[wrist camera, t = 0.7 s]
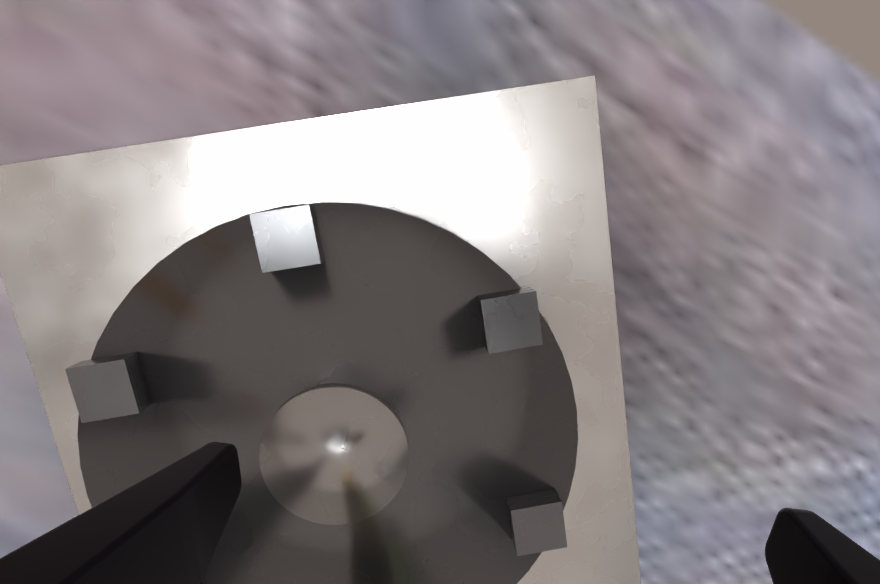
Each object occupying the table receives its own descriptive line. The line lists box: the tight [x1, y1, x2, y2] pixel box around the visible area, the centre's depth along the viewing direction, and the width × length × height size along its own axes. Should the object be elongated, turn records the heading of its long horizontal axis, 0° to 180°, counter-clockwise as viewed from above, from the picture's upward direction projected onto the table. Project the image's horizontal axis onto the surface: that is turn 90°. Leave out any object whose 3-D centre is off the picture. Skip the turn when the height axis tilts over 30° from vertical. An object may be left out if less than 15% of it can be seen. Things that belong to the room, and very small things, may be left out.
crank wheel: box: [65, 202, 578, 584], centre depth 16 cm, size 17×17×9 cm
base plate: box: [0, 76, 641, 584], centre depth 20 cm, size 23×23×4 cm
